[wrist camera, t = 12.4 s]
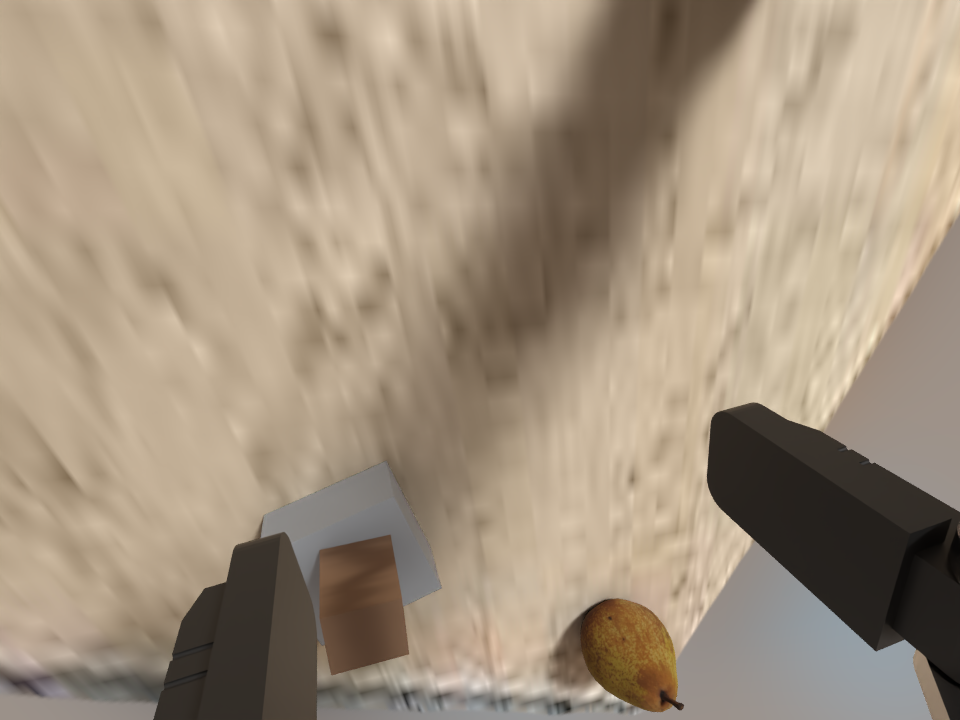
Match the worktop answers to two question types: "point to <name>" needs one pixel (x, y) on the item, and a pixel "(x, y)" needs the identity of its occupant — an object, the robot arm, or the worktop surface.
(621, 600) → the fruit
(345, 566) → the walnut block
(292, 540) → the base block
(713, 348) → the worktop surface
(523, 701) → the worktop surface
